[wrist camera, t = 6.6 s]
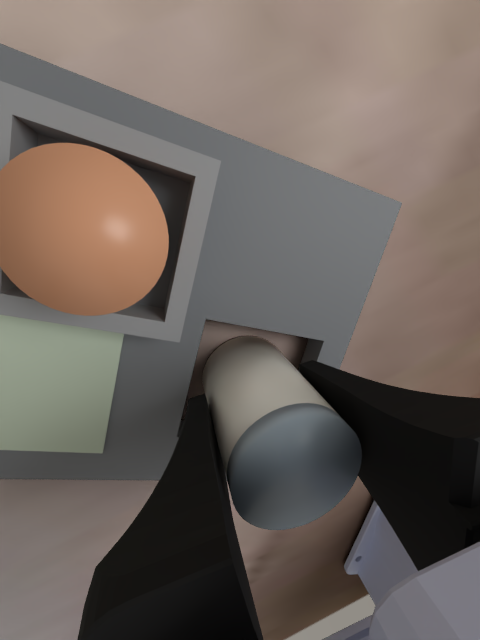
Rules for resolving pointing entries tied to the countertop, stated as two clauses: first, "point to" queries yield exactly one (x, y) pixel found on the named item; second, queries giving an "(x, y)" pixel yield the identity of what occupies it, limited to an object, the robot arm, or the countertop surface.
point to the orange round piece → (80, 229)
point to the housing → (170, 277)
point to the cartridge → (277, 436)
